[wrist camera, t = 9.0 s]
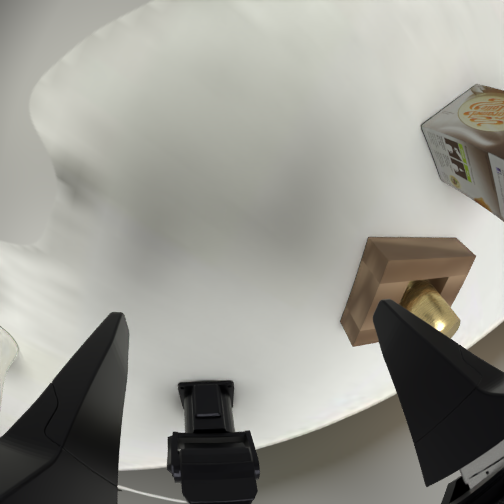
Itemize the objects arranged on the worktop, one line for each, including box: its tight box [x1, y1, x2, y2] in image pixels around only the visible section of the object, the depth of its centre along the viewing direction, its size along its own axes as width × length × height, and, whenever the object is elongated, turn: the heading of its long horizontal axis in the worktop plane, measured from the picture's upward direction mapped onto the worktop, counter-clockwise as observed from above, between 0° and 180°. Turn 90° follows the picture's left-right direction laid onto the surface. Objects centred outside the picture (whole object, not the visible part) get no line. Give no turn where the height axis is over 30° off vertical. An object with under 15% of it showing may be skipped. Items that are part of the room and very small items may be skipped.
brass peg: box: [399, 279, 460, 338], centre depth 24 cm, size 4×4×8 cm
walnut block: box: [340, 237, 476, 347], centre depth 26 cm, size 10×12×4 cm
